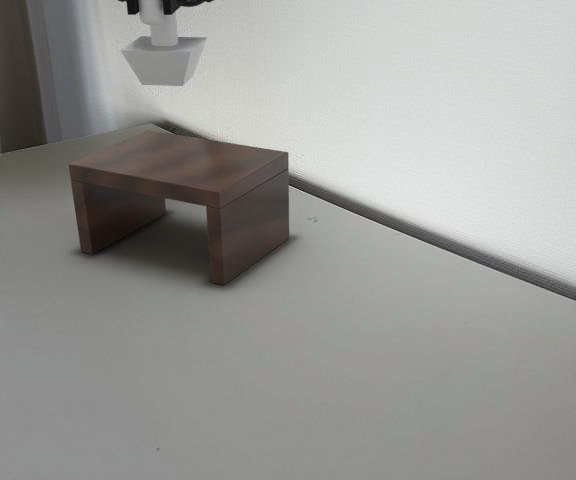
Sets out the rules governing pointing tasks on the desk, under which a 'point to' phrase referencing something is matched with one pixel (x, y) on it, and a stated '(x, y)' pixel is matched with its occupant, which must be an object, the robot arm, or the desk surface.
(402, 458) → the desk surface
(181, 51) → the figurine
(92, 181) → the shelf
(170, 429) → the desk surface
